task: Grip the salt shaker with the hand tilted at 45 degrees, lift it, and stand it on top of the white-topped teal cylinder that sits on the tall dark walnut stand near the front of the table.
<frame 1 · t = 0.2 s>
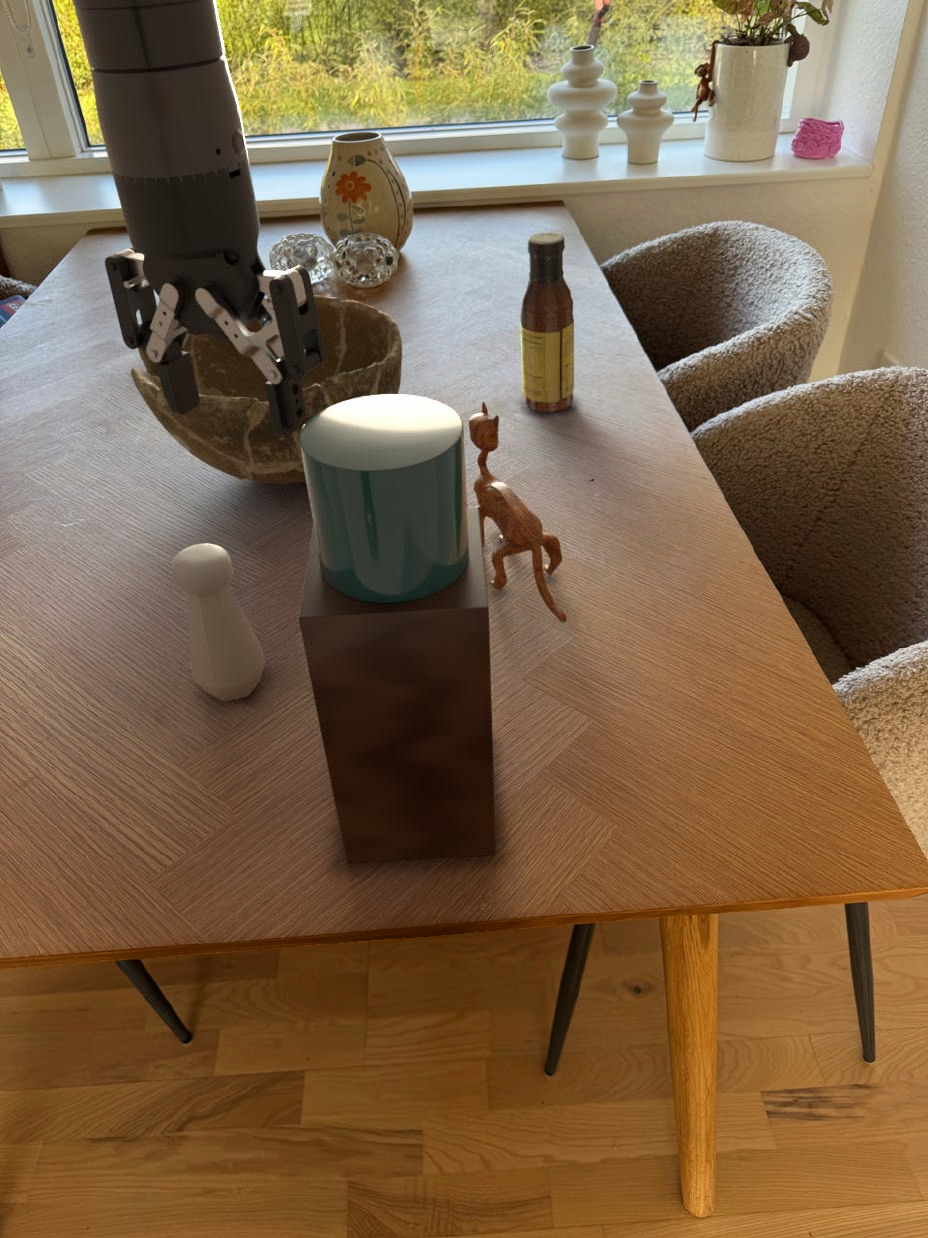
hand: (237, 419, 62), 23 cm above the table, tool pointing down, fingers open, 8 cm apart
apple: (206, 327, 138), on the table
bowl: (289, 470, 103), on the table
sauce bottle: (546, 405, 113), on the table
cat figurine: (518, 579, 86), on the table
white-topped teal cylinder: (395, 557, 52), resting on stand
stand: (421, 800, 65), on the table
salt shaker: (234, 685, 76), on the table
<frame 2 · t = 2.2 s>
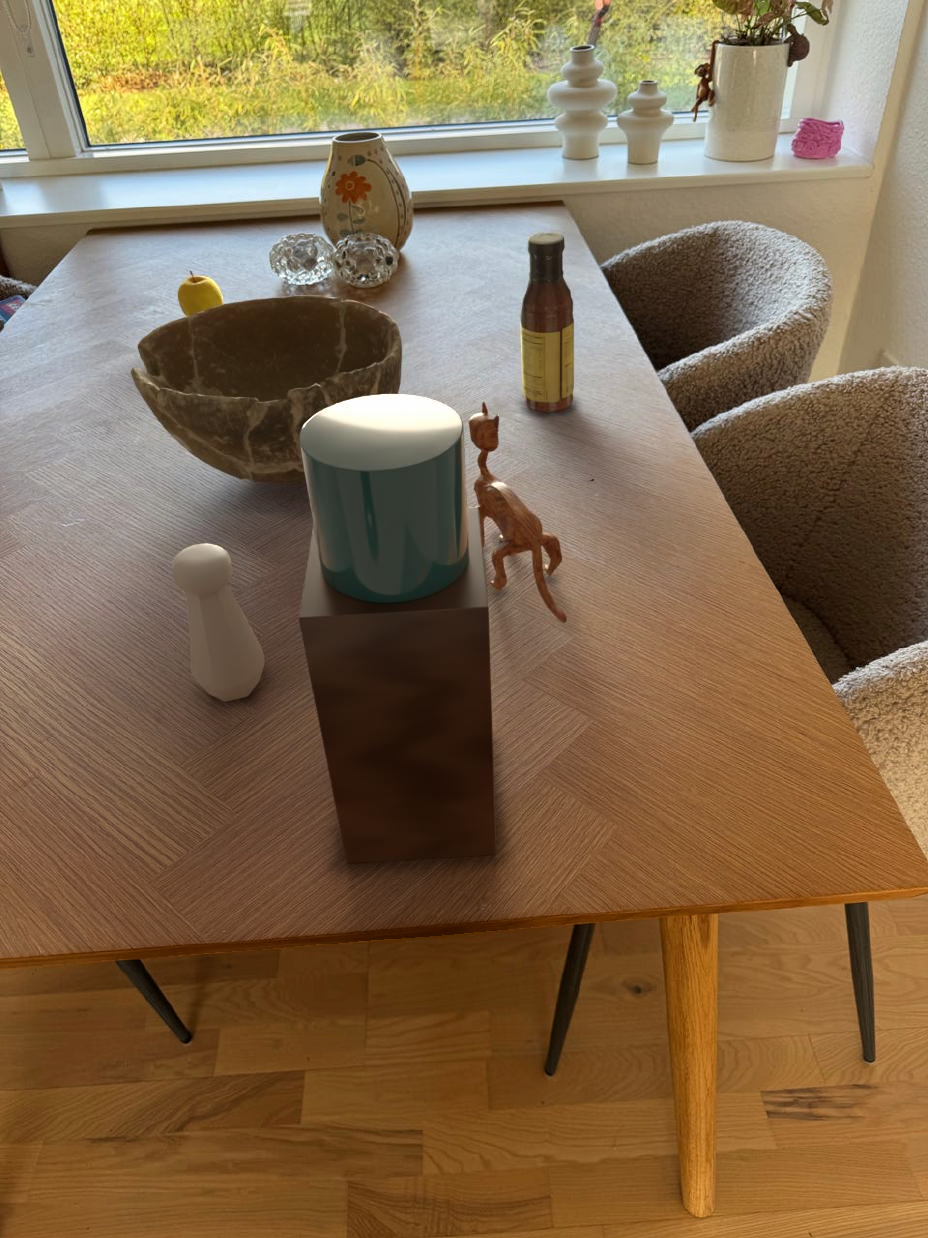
nothing on the table moved.
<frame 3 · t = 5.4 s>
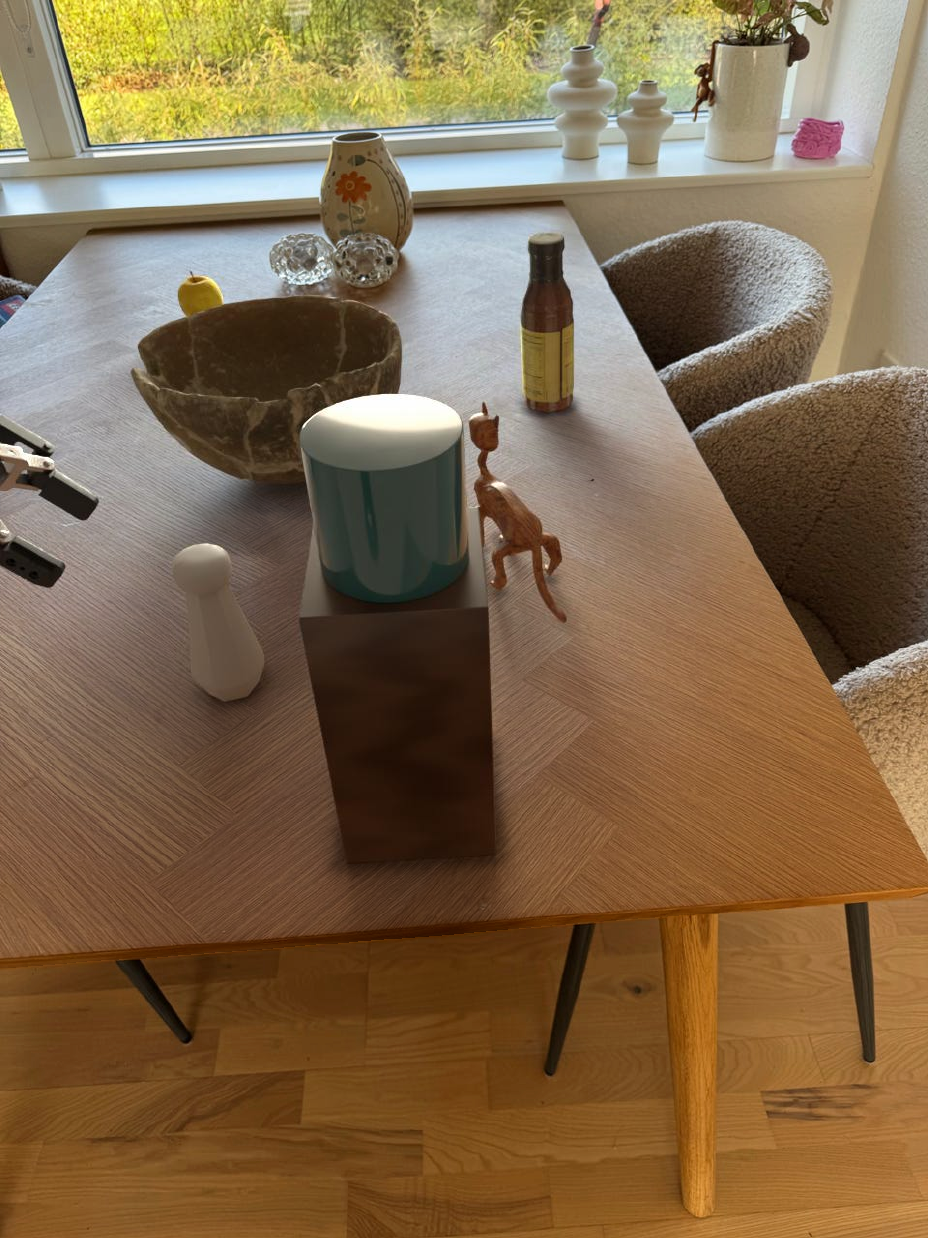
hand: (76, 542, 66), 15 cm above the table, tool tilted 45°, fingers open, 8 cm apart
nothing on the table moved.
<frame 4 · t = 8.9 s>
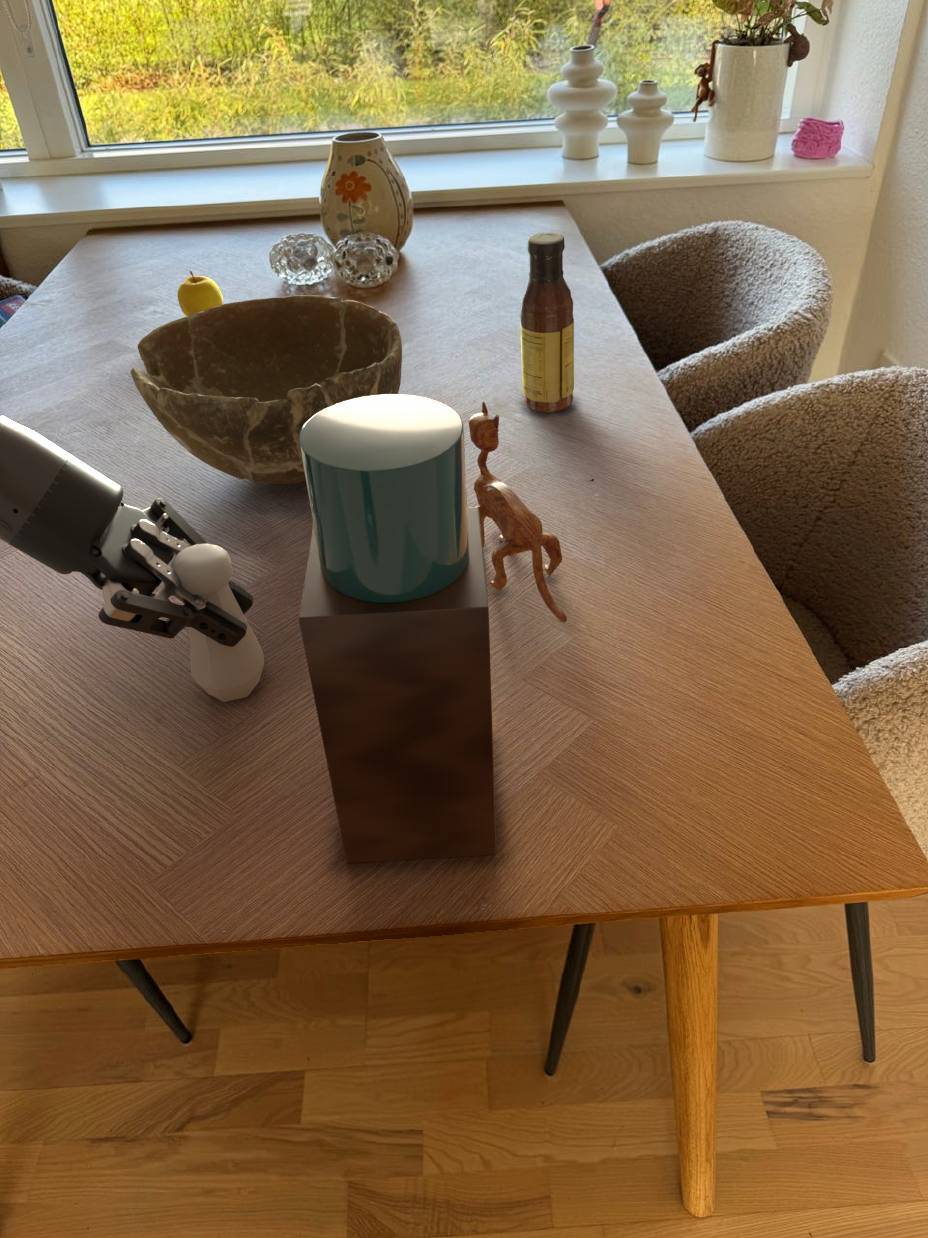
hand: (243, 621, 72), 6 cm above the table, tool tilted 45°, fingers closed on salt shaker, 3 cm apart
salt shaker: (233, 686, 76), on the table, touching gripper
everything else where it was.
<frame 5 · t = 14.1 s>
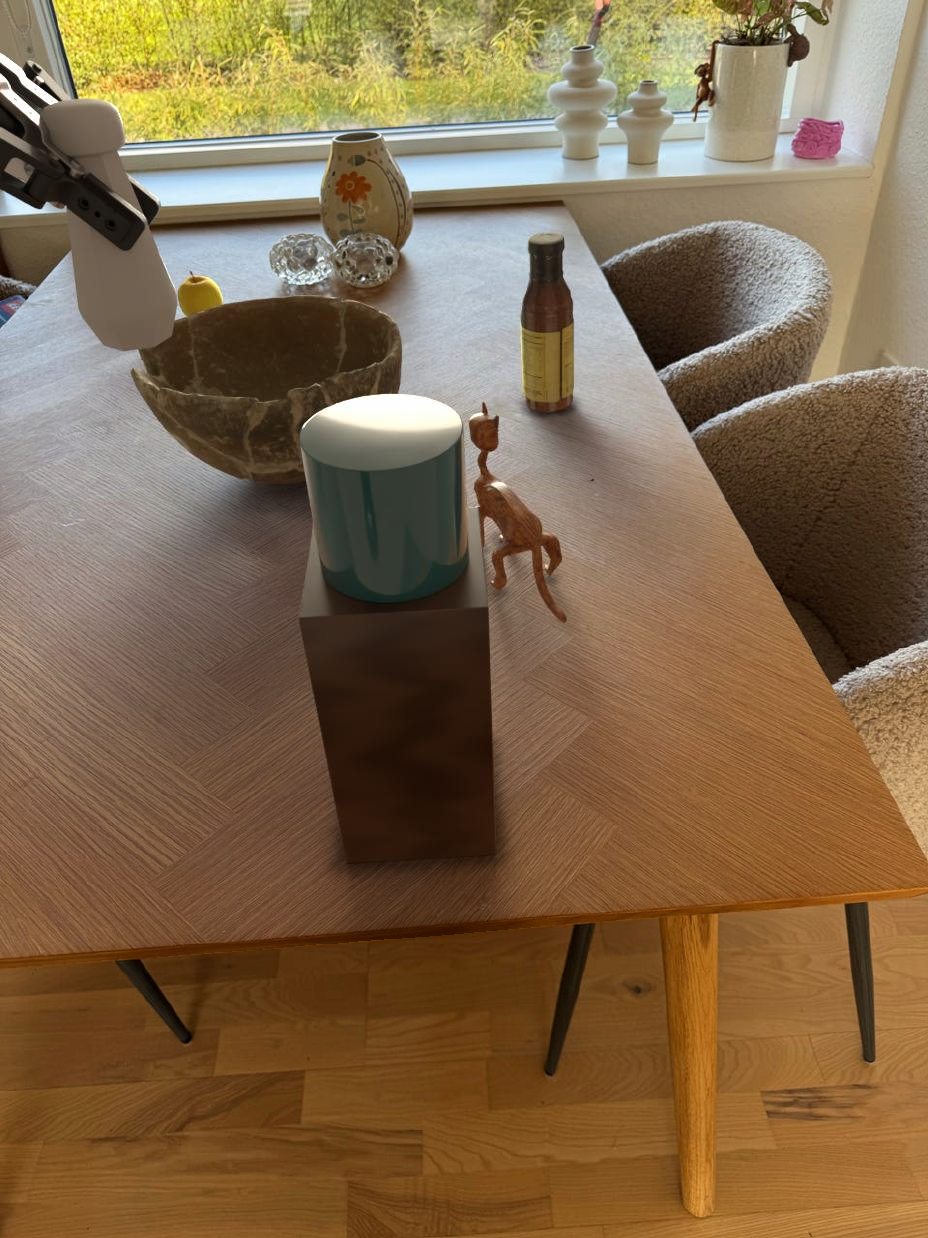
hand: (144, 227, 53), 36 cm above the table, tool tilted 45°, fingers closed on salt shaker, 3 cm apart
salt shaker: (138, 340, 57), point 29 cm above the table, touching gripper
everything else where it was.
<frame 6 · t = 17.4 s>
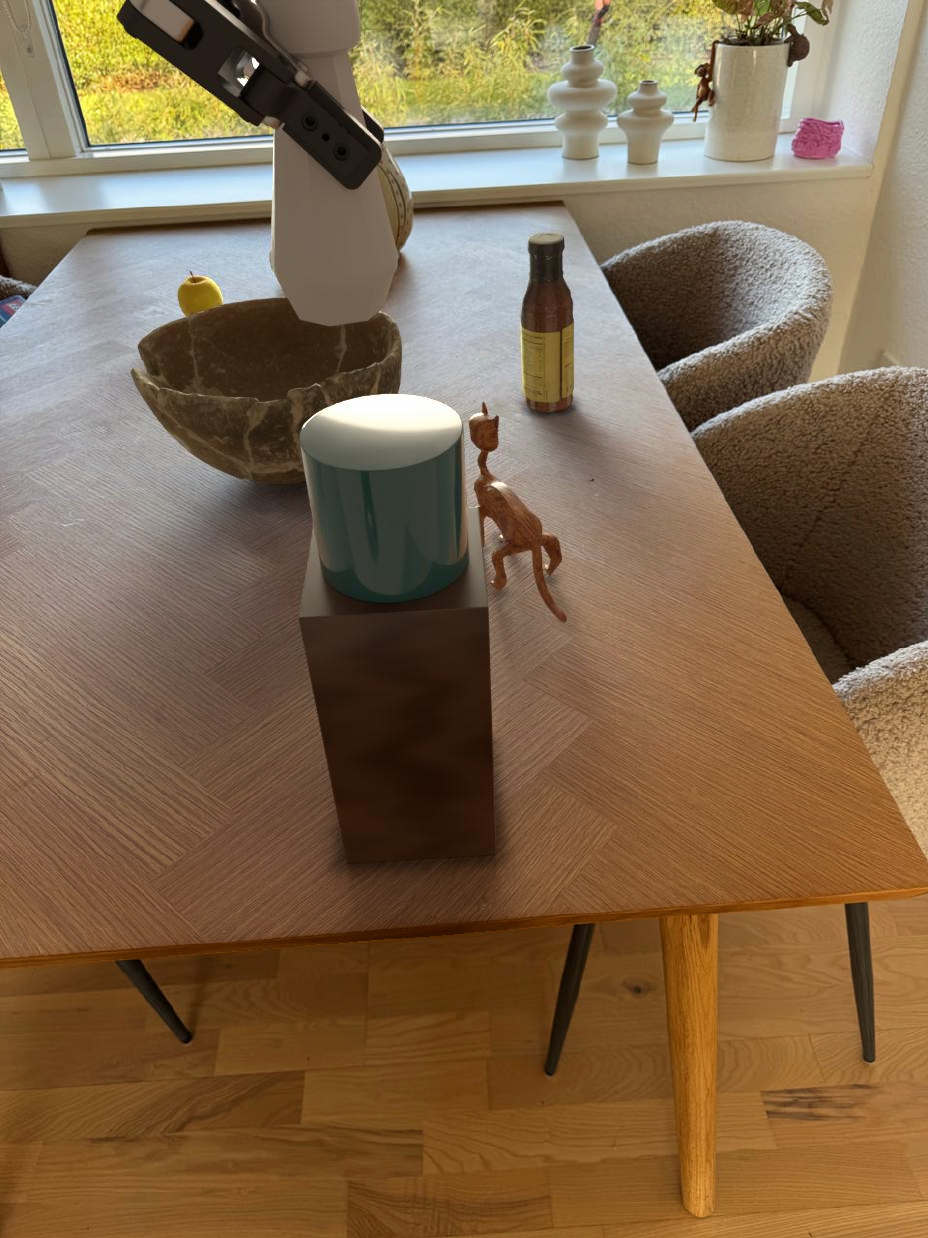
hand: (370, 160, 40), 41 cm above the table, tool tilted 45°, fingers closed on salt shaker, 3 cm apart
salt shaker: (340, 313, 44), point 35 cm above the table, touching gripper
everything else where it was.
when the fingers open (35 cm above the table, at t = 19.6 s): salt shaker stays where it is, resting on white-topped teal cylinder.
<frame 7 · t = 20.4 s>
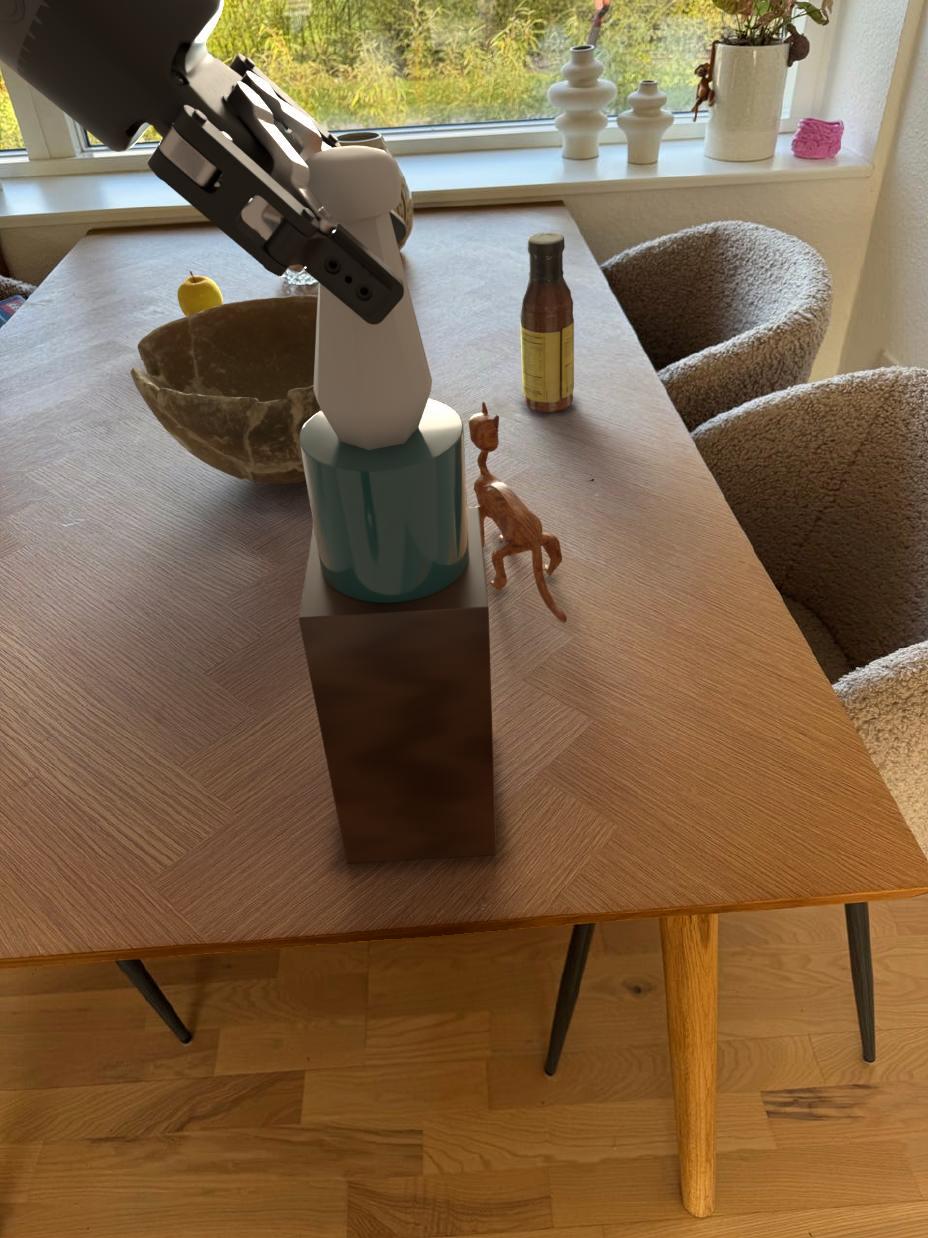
hand: (394, 273, 42), 37 cm above the table, tool tilted 45°, fingers open, 8 cm apart
salt shaker: (378, 433, 47), point 29 cm above the table, touching white-topped teal cylinder
everything else where it was.
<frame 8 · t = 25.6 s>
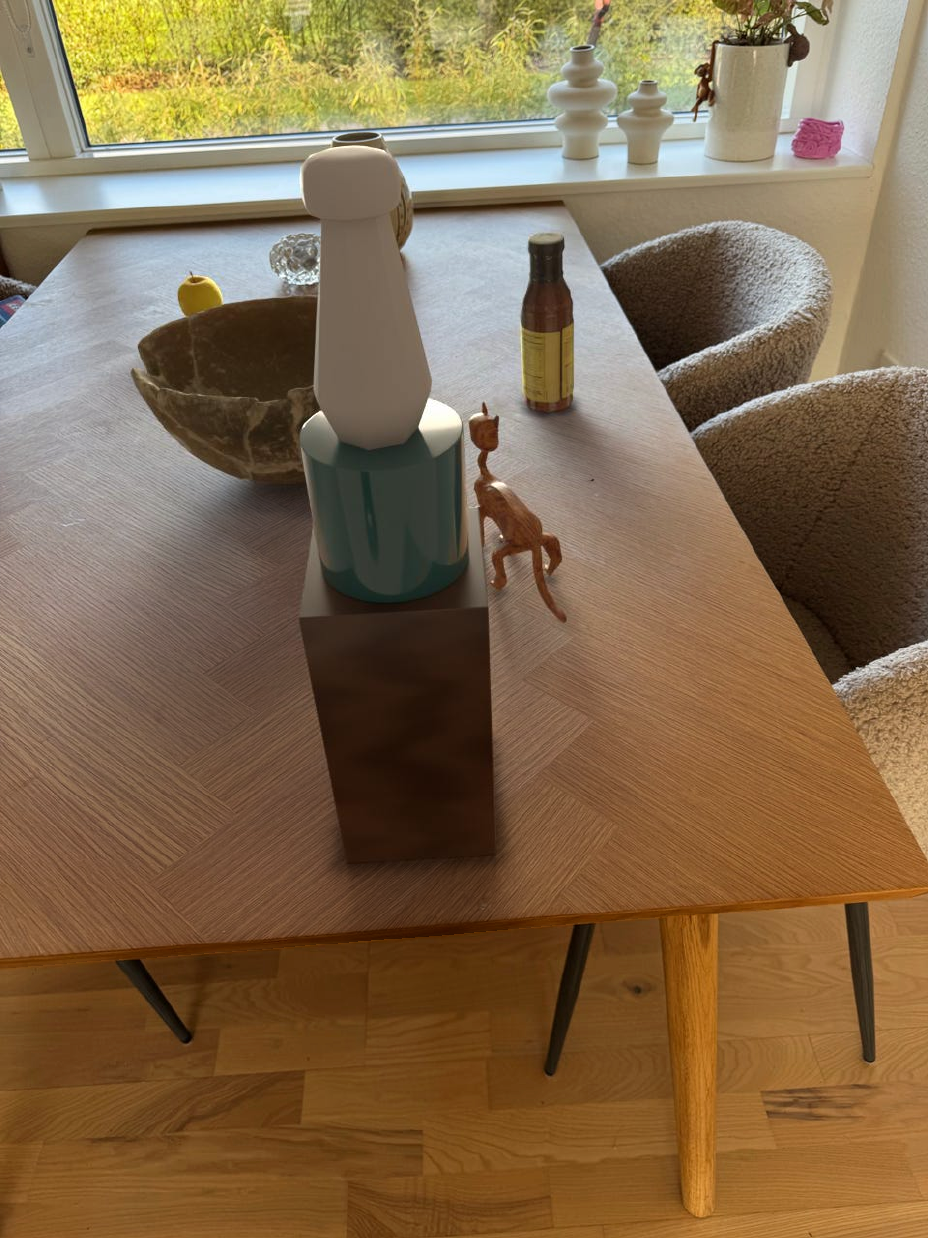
nothing on the table moved.
at the end: salt shaker 0.1 cm off-centre on the white-topped teal cylinder, point 7.8 cm above the white-topped teal cylinder's base; salt shaker tilted 0°; the gripper is holding nothing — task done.
